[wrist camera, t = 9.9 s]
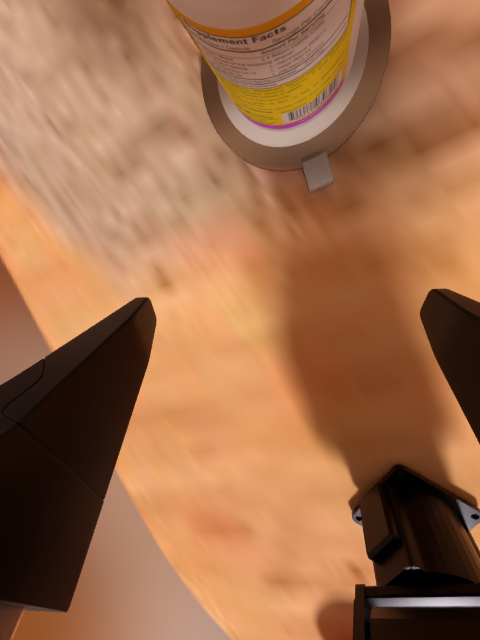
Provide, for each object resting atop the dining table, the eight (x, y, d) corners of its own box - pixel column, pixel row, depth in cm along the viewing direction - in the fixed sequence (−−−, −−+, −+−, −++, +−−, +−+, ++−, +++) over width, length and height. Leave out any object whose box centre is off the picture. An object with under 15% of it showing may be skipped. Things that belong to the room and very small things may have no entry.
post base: (411, 150, 15) (419, 142, 14) (247, 219, 19) (242, 218, 17) (349, -131, 13) (353, -170, 12) (176, 5, 16) (165, -14, 15)
